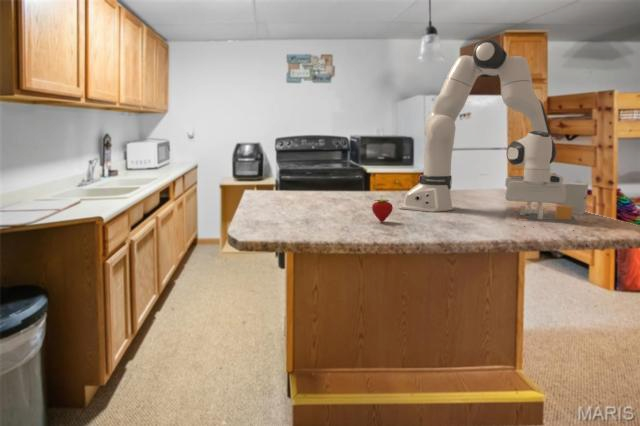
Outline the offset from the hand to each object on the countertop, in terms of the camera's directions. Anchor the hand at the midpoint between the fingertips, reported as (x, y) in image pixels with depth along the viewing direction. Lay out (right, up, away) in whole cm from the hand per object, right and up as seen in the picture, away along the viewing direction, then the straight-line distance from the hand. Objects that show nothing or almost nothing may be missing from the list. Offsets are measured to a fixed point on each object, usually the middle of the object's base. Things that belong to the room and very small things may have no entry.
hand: (533, 214), depth 180 cm
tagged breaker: (+2, -2, 0) cm, 3 cm away
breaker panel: (+5, -3, +2) cm, 6 cm away
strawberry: (-56, -3, -1) cm, 56 cm away
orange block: (+12, -1, +2) cm, 12 cm away
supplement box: (+22, -1, +13) cm, 25 cm away
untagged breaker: (-1, 0, +7) cm, 7 cm away
